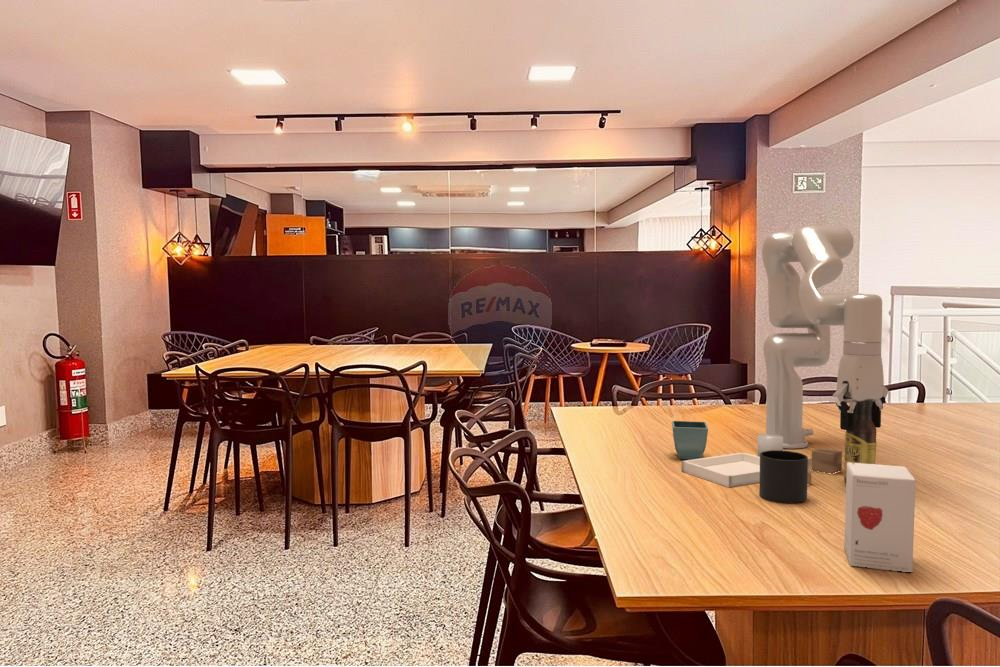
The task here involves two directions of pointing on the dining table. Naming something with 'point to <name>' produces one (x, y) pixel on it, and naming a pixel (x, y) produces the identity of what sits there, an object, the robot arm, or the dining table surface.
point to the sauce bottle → (861, 437)
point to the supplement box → (879, 516)
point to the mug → (783, 476)
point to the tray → (725, 469)
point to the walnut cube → (826, 460)
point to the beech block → (809, 470)
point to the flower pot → (690, 438)
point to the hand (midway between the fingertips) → (860, 427)
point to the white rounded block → (769, 443)
